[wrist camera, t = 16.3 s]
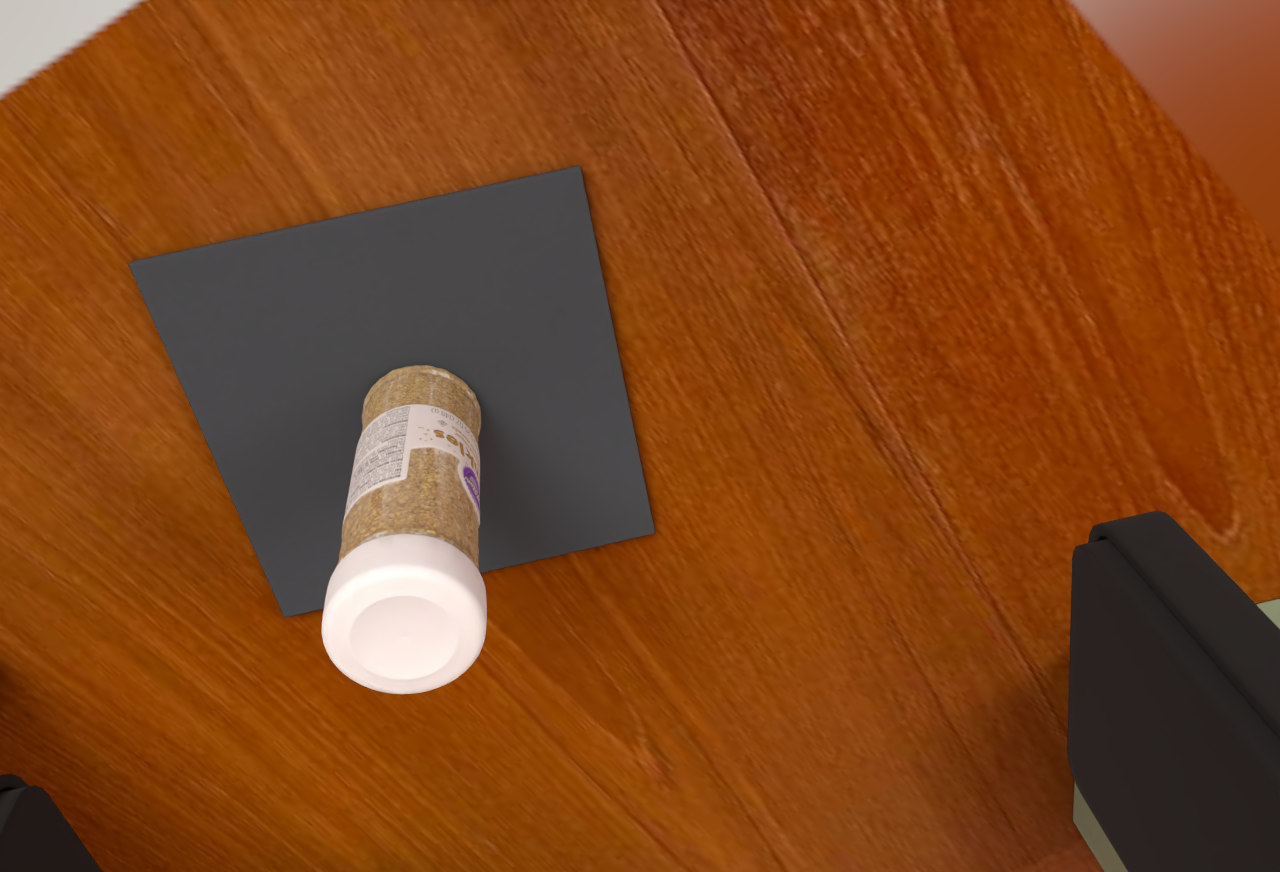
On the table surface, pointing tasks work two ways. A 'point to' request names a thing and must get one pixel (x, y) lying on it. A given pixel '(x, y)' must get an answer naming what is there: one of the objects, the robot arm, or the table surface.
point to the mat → (400, 337)
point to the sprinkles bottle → (410, 539)
